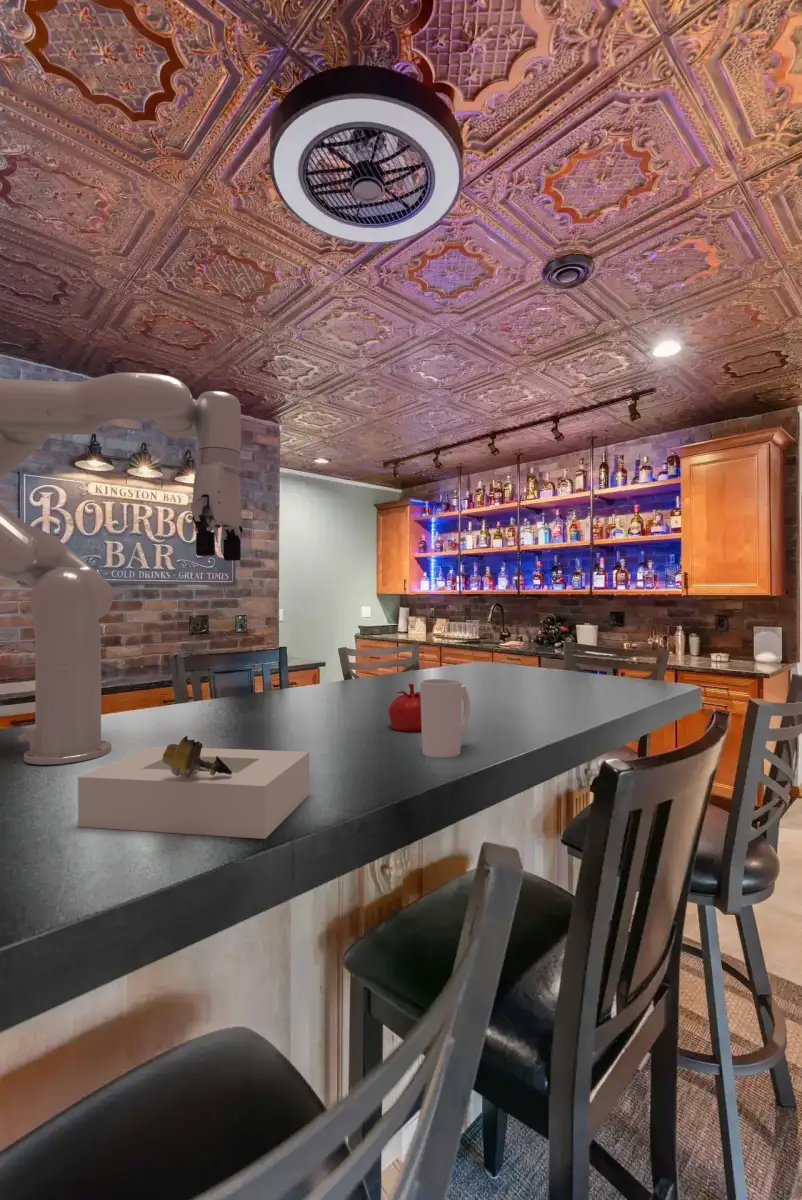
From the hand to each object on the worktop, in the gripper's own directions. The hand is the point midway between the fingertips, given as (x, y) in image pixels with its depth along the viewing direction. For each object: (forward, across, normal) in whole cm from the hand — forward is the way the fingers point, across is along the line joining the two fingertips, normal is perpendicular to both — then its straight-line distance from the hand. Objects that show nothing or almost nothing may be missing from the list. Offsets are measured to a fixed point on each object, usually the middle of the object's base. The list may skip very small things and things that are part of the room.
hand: (219, 558), depth 100 cm
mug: (+34, +1, +41) cm, 53 cm away
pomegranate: (+34, -15, +33) cm, 49 cm away
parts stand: (+33, +31, +14) cm, 48 cm away
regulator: (+30, +28, +15) cm, 44 cm away
